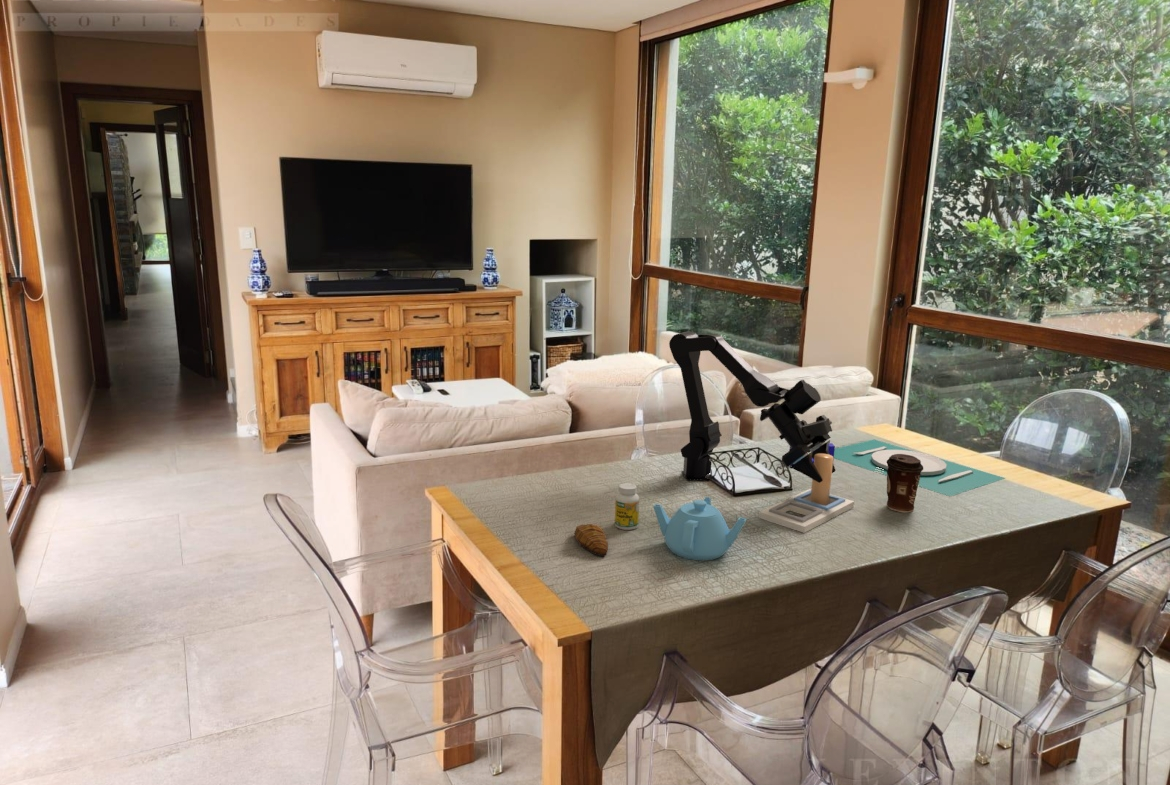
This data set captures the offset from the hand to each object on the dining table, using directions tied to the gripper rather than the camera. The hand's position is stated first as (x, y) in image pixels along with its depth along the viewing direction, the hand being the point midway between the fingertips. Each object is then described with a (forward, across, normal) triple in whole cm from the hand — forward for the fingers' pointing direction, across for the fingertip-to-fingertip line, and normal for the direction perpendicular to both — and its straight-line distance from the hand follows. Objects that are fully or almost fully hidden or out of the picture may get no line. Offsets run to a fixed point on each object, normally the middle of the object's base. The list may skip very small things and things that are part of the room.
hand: (827, 476), depth 198 cm
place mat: (+12, +49, +1) cm, 51 cm away
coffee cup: (+16, +12, -4) cm, 21 cm away
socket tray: (+4, -6, +7) cm, 10 cm away
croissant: (-17, -54, +29) cm, 64 cm away
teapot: (-4, -41, +16) cm, 44 cm away
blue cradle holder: (-4, +32, +16) cm, 36 cm away
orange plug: (+5, 0, +7) cm, 8 cm away
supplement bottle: (-17, -41, +28) cm, 52 cm away
